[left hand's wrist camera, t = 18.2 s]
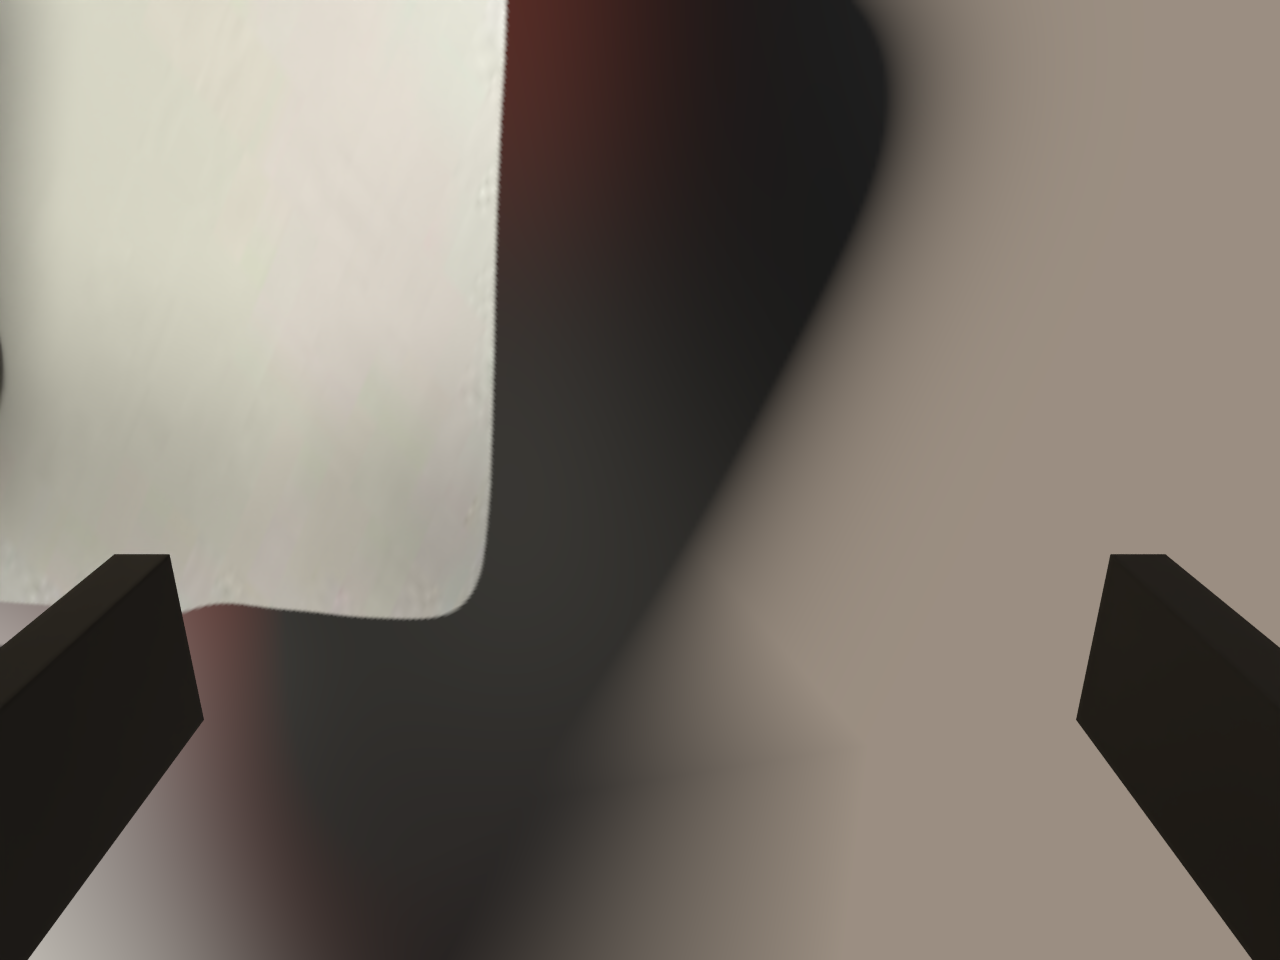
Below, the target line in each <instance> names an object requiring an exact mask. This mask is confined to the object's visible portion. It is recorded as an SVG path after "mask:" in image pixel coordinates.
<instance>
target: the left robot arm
mask: <svg viewBox="0 0 1280 960" xmlns="http://www.w3.org/2000/svg"><path fill="white" fill-rule="evenodd" d="M203 720H204V718H203V713H202V708H201V704H200V699H199V694H198V689H197V684H196V680H195V675H194V670H193V665H192V660H191V655H190V651H189V646H188V641H187V636H186V631H185V627H184V622H183V617H182V612H181V607H180V603H179V598H178V593H177V588H176V583H175V579H174V574H173V569H172V564H171V559H170V555H169V554H114V555H113V556H112V557H111V558H110V559H108V560H107V561H106V562H105V563H103V564H102V565H101V566H100V567H98V568H97V569H96V570H95V571H94V572H92V573H91V574H90V575H89V576H87V577H86V578H85V579H84V580H83V581H81V582H80V583H79V584H78V585H76V586H75V587H74V588H73V589H72V590H70V591H69V592H68V593H67V594H65V595H64V596H63V597H62V598H61V599H59V600H58V601H57V602H56V603H54V604H53V605H52V606H51V607H49V608H48V609H47V610H46V611H45V612H43V613H42V614H41V615H40V616H38V617H37V618H36V619H35V620H34V621H32V622H31V623H30V624H29V625H27V626H26V627H25V628H24V629H23V630H21V631H20V632H19V633H18V634H16V635H15V636H14V637H13V638H12V639H10V640H9V641H8V642H7V643H5V644H4V645H3V646H2V647H1V648H0V960H28V959H29V957H30V956H31V955H32V953H33V952H34V950H35V949H36V948H37V946H38V945H39V944H40V942H41V941H42V940H43V938H44V937H45V935H46V934H47V933H48V931H49V930H50V929H51V927H52V926H53V925H54V923H55V922H56V920H57V919H58V918H59V916H60V915H61V914H62V912H63V911H64V910H65V908H66V907H67V905H68V904H69V903H70V901H71V900H72V899H73V897H74V896H75V894H76V893H77V892H78V890H79V889H80V888H81V886H82V885H83V884H84V882H85V881H86V880H87V878H88V877H89V875H90V874H91V873H92V871H93V870H94V869H95V867H96V866H97V865H98V863H99V862H100V861H101V859H102V858H103V856H104V855H105V854H106V852H107V851H108V850H109V848H110V847H111V845H112V844H113V843H114V841H115V840H116V839H117V837H118V836H119V835H120V833H121V832H122V831H123V829H124V828H125V826H126V825H127V824H128V822H129V821H130V820H131V818H132V817H133V816H134V814H135V813H136V811H137V810H138V809H139V807H140V806H141V805H142V803H143V802H144V801H145V799H146V798H147V796H148V795H149V794H150V792H151V791H152V790H153V788H154V787H155V786H156V784H157V783H158V781H159V780H160V779H161V777H162V776H163V775H164V773H165V772H166V771H167V769H168V768H169V766H170V765H171V764H172V762H173V761H174V760H175V758H176V757H177V756H178V754H179V753H180V751H181V750H182V749H183V747H184V746H185V745H186V743H187V742H188V741H189V739H190V738H191V737H192V735H193V734H194V732H195V731H196V730H197V728H198V727H199V726H200V724H201V723H202V722H203ZM1076 720H1077V721H1078V723H1079V724H1080V726H1081V727H1082V728H1083V730H1084V731H1085V732H1086V734H1087V735H1088V737H1089V738H1090V739H1091V741H1092V742H1093V743H1094V745H1095V746H1096V747H1097V749H1098V750H1099V752H1100V753H1101V754H1102V756H1103V757H1104V758H1105V760H1106V761H1107V762H1108V764H1109V765H1110V766H1111V768H1112V769H1113V771H1114V772H1115V773H1116V775H1117V776H1118V777H1119V779H1120V780H1121V781H1122V783H1123V784H1124V786H1125V787H1126V788H1127V790H1128V791H1129V792H1130V794H1131V795H1132V796H1133V798H1134V799H1135V800H1136V802H1137V803H1138V805H1139V806H1140V807H1141V809H1142V810H1143V811H1144V813H1145V814H1146V816H1147V817H1148V818H1149V820H1150V821H1151V822H1152V824H1153V825H1154V826H1155V828H1156V829H1157V831H1158V832H1159V833H1160V835H1161V836H1162V837H1163V839H1164V840H1165V841H1166V843H1167V844H1168V846H1169V847H1170V848H1171V850H1172V851H1173V852H1174V854H1175V855H1176V856H1177V858H1178V859H1179V860H1180V862H1181V863H1182V865H1183V866H1184V867H1185V869H1186V870H1187V871H1188V873H1189V874H1190V875H1191V877H1192V878H1193V880H1194V881H1195V882H1196V884H1197V885H1198V886H1199V888H1200V889H1201V890H1202V892H1203V893H1204V895H1205V896H1206V897H1207V899H1208V900H1209V901H1210V903H1211V904H1212V905H1213V907H1214V908H1215V909H1216V911H1217V912H1218V914H1219V915H1220V916H1221V918H1222V919H1223V920H1224V922H1225V923H1226V925H1227V926H1228V927H1229V929H1230V930H1231V931H1232V933H1233V934H1234V935H1235V937H1236V938H1237V940H1238V941H1239V942H1240V944H1241V945H1242V946H1243V948H1244V949H1245V950H1246V952H1247V953H1248V955H1249V956H1250V957H1251V959H1252V960H1280V648H1279V647H1278V646H1277V645H1276V644H1275V643H1273V642H1272V641H1271V640H1270V639H1268V638H1267V637H1266V636H1265V635H1264V634H1262V633H1261V632H1260V631H1259V630H1257V629H1256V628H1255V627H1254V626H1253V625H1251V624H1250V623H1249V622H1248V621H1246V620H1245V619H1244V618H1243V617H1242V616H1240V615H1239V614H1238V613H1237V612H1235V611H1234V610H1233V609H1232V608H1230V607H1229V606H1228V605H1227V604H1226V603H1224V602H1223V601H1222V600H1221V599H1219V598H1218V597H1217V596H1216V595H1214V594H1213V593H1212V592H1211V591H1210V590H1208V589H1207V588H1206V587H1205V586H1204V585H1202V584H1201V583H1200V582H1199V581H1197V580H1196V579H1195V578H1194V577H1193V576H1191V575H1190V574H1189V573H1188V572H1186V571H1185V570H1184V569H1183V568H1181V567H1180V566H1179V565H1178V564H1177V563H1175V562H1174V561H1173V560H1172V559H1170V558H1169V557H1168V556H1167V555H1165V554H1111V555H1110V559H1109V564H1108V569H1107V574H1106V579H1105V584H1104V588H1103V593H1102V598H1101V603H1100V607H1099V612H1098V617H1097V622H1096V627H1095V632H1094V636H1093V641H1092V646H1091V651H1090V656H1089V660H1088V665H1087V670H1086V675H1085V680H1084V684H1083V689H1082V694H1081V699H1080V704H1079V708H1078V713H1077V718H1076Z"/></svg>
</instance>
